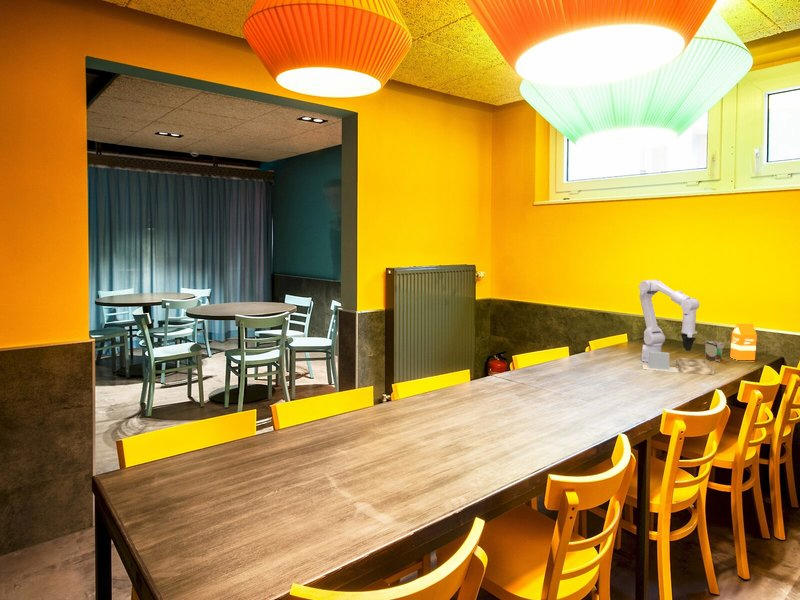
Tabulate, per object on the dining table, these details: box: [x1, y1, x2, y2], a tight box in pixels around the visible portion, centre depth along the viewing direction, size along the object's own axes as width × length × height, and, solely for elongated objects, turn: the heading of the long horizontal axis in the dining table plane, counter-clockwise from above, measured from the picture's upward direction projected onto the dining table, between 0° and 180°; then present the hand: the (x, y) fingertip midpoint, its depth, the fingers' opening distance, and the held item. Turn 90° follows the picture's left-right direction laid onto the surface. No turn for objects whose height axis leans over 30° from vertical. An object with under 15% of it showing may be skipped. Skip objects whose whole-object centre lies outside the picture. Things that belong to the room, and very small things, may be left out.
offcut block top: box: [689, 361, 701, 367], centre depth 259 cm, size 5×4×2 cm
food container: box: [704, 340, 725, 363], centre depth 285 cm, size 12×6×10 cm, turn 179°
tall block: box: [647, 351, 671, 370], centre depth 265 cm, size 3×9×8 cm, turn 68°
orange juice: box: [729, 323, 757, 361], centre depth 287 cm, size 8×9×20 cm
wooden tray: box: [675, 357, 715, 375], centre depth 266 cm, size 14×22×4 cm, turn 158°
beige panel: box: [641, 364, 680, 374], centre depth 265 cm, size 16×10×1 cm, turn 68°
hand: (687, 349), depth 264 cm, fingers open, 7 cm apart
